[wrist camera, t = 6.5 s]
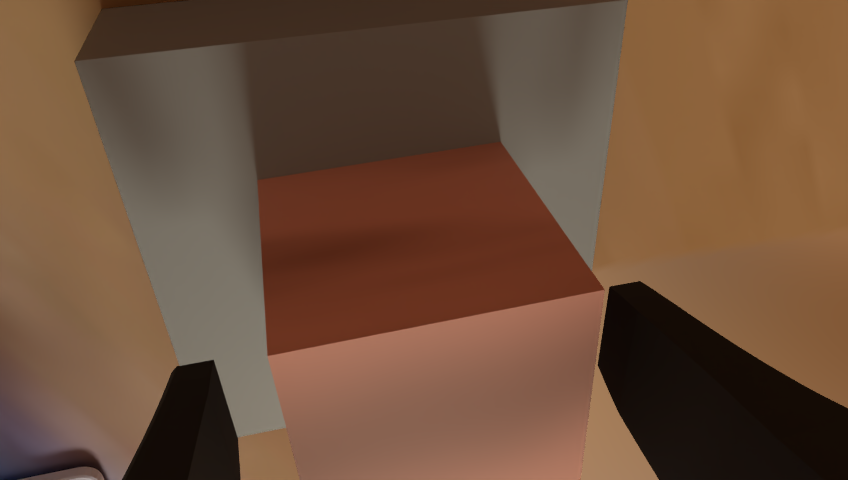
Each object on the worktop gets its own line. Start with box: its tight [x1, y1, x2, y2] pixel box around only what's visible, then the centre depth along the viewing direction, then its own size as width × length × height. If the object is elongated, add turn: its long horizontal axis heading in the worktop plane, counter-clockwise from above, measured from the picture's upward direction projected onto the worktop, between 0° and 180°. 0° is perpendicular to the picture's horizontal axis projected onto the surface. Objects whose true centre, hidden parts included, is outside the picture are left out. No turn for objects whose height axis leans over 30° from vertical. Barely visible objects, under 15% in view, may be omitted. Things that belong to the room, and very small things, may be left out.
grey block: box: [75, 0, 628, 437], centre depth 17 cm, size 10×10×4 cm
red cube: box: [257, 142, 605, 480], centre depth 13 cm, size 5×5×5 cm
